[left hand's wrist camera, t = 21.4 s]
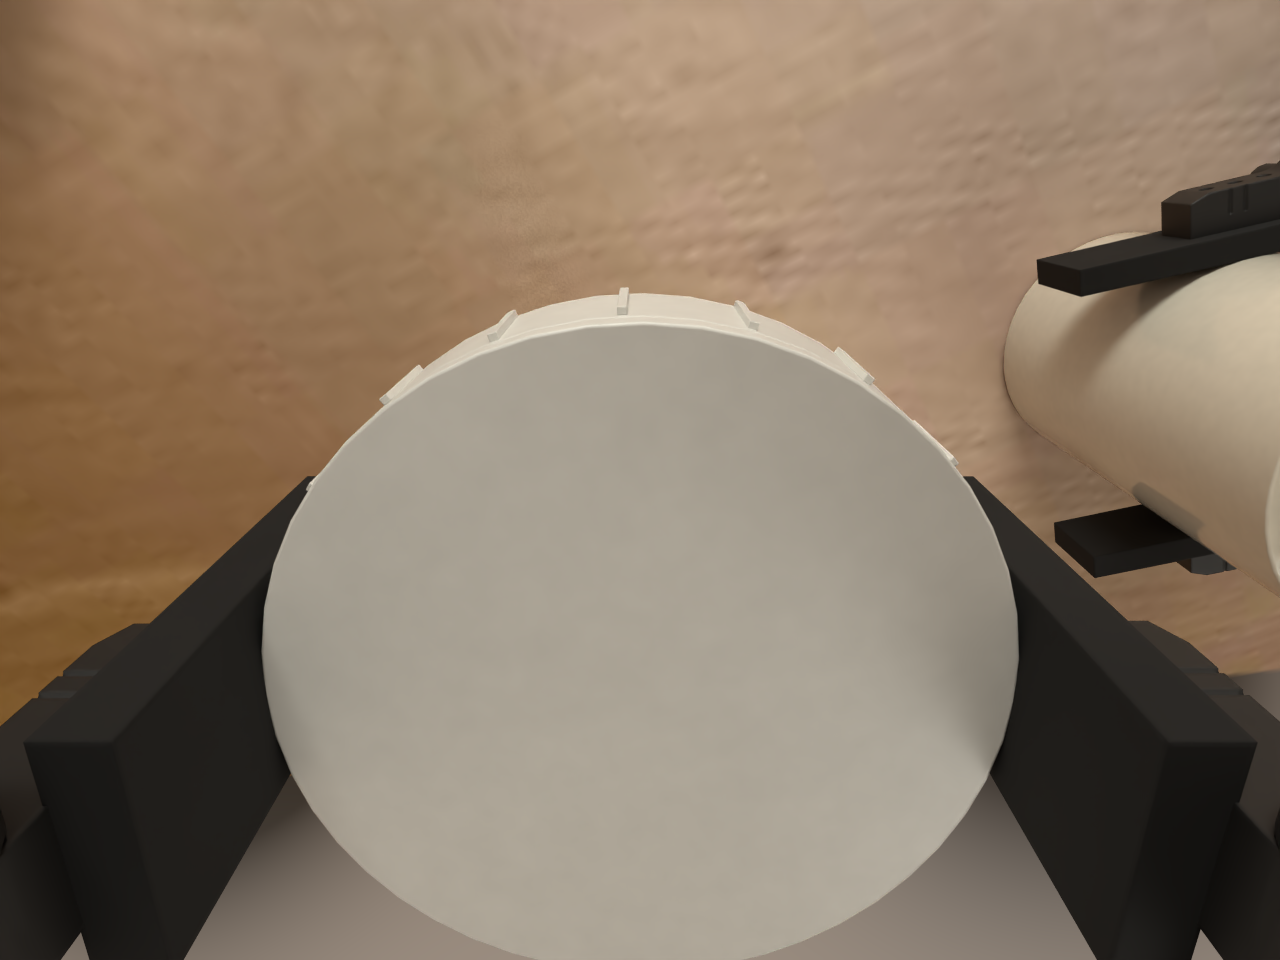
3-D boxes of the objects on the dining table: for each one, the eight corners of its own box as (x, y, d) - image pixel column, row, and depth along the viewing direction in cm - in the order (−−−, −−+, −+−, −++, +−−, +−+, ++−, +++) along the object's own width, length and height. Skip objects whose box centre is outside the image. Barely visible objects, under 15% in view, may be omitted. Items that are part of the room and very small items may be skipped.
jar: (1264, 358, 32) (1830, 537, 17) (1072, 489, 34) (1425, 756, 19) (1160, 181, 30) (1705, 202, 15) (960, 332, 32) (1259, 490, 16)
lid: (186, 499, 11) (91, 569, 9) (786, 148, 10) (822, 143, 8) (538, 935, 14) (521, 1058, 12) (1051, 712, 13) (1126, 813, 11)
